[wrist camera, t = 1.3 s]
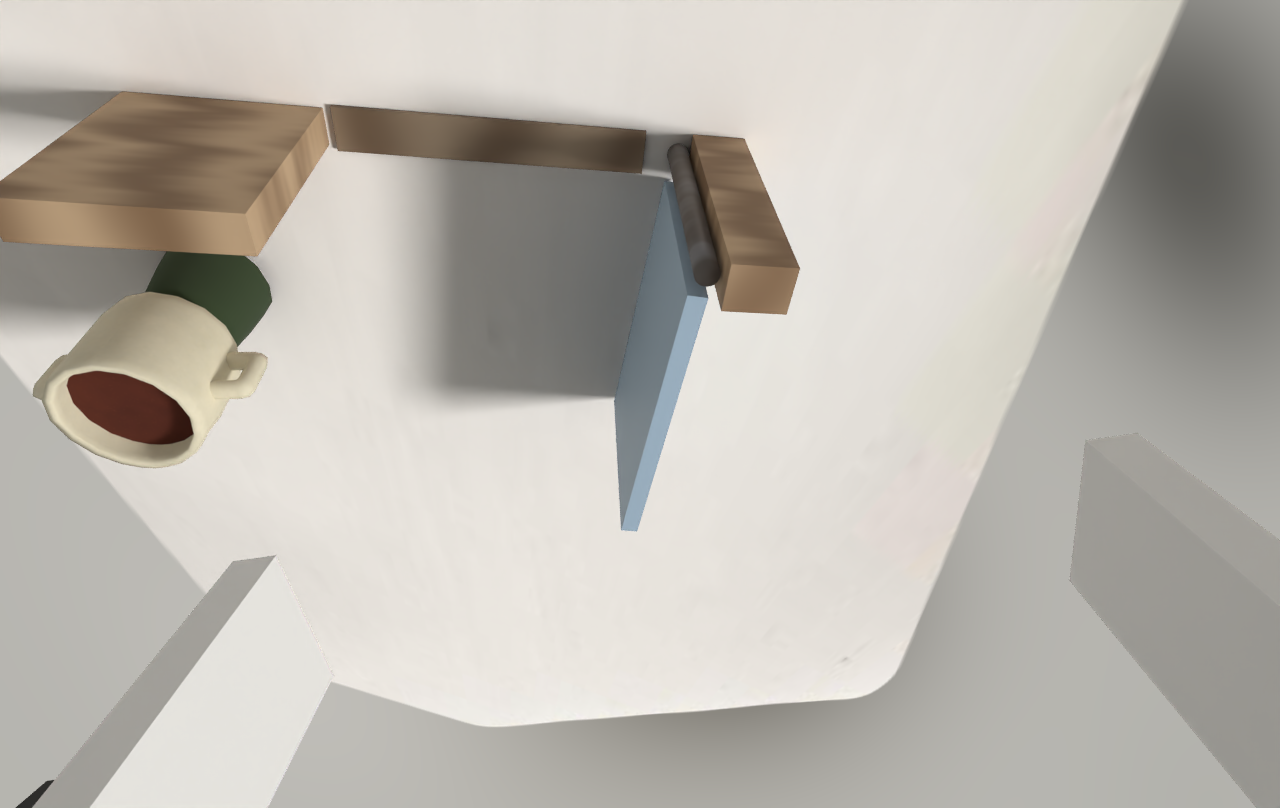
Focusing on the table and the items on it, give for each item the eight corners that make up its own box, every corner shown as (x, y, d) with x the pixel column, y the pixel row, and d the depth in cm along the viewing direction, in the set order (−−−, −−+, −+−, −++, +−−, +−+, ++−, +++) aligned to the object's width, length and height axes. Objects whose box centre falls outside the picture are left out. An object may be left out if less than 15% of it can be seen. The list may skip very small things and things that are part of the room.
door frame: (137, 133, 39) (-25, 271, 28) (120, 87, 37) (-58, 216, 27) (736, 178, 43) (786, 314, 32) (744, 138, 41) (799, 268, 31)
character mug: (155, 324, 47) (45, 471, 37) (104, 226, 42) (-36, 365, 33) (325, 323, 48) (261, 467, 38) (294, 226, 43) (212, 363, 33)
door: (664, 180, 42) (687, 295, 33) (703, 187, 42) (737, 302, 33) (614, 401, 53) (621, 530, 44) (645, 404, 54) (658, 532, 45)
